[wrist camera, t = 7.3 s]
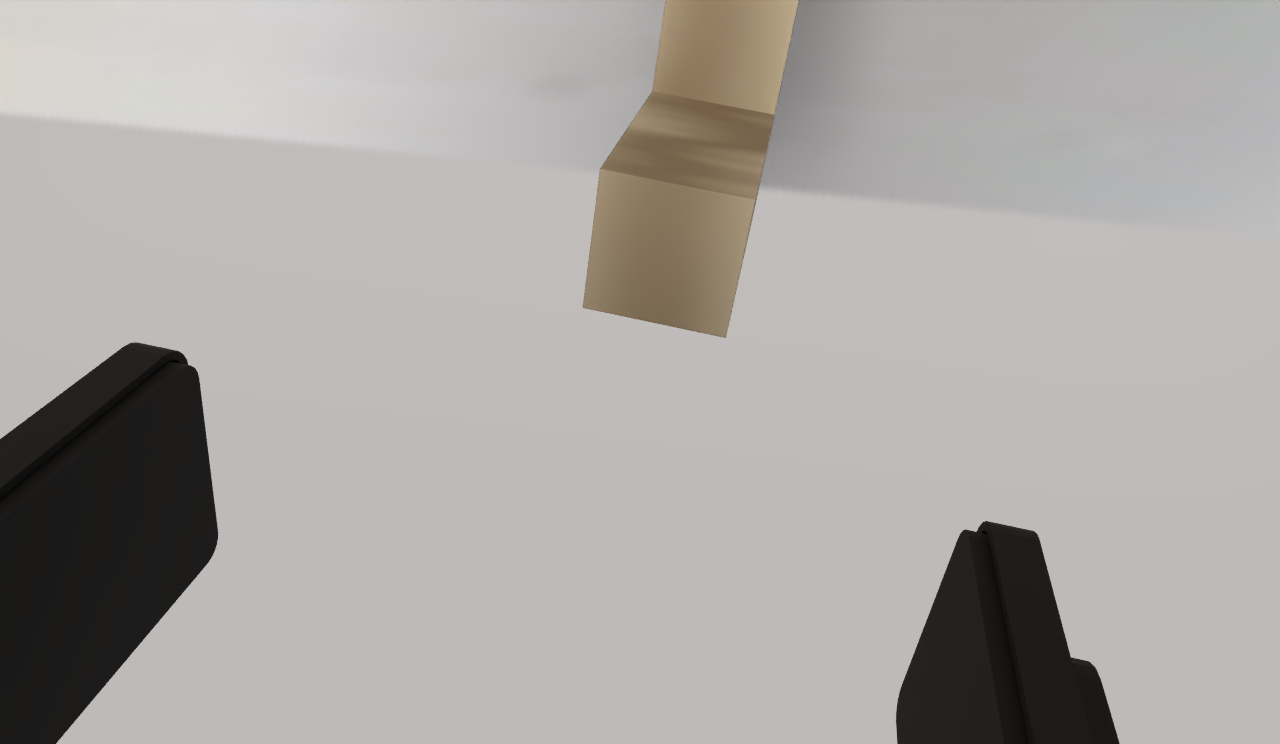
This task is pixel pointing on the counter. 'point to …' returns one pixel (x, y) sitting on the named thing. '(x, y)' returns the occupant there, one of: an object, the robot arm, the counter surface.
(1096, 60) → the counter surface
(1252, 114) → the counter surface
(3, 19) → the counter surface
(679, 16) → the bent tan strip
